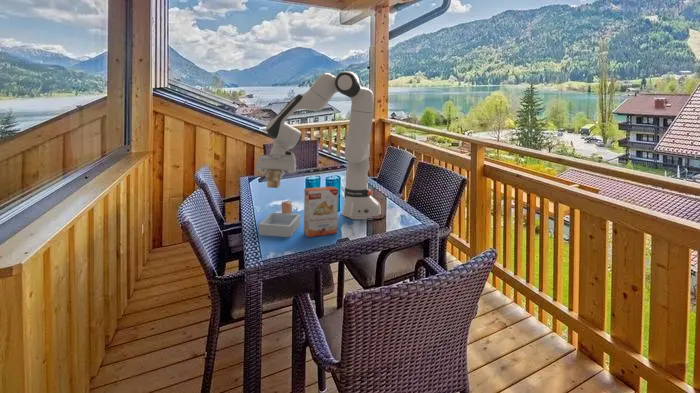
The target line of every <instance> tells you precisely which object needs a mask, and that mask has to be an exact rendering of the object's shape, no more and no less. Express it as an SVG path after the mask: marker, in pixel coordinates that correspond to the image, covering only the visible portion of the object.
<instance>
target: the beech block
mask: <svg viewBox="0 0 700 393" xmlns="http://www.w3.org/2000/svg"><path fill="white" fill-rule="evenodd" d="M280 174H281V172H280V170H269V171H267V179H266V182H267V184H266V185H267V186H266V187H267V188H269V189H270V188H271V189H278V188H279V187H281V179H278V175H280Z"/></svg>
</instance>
